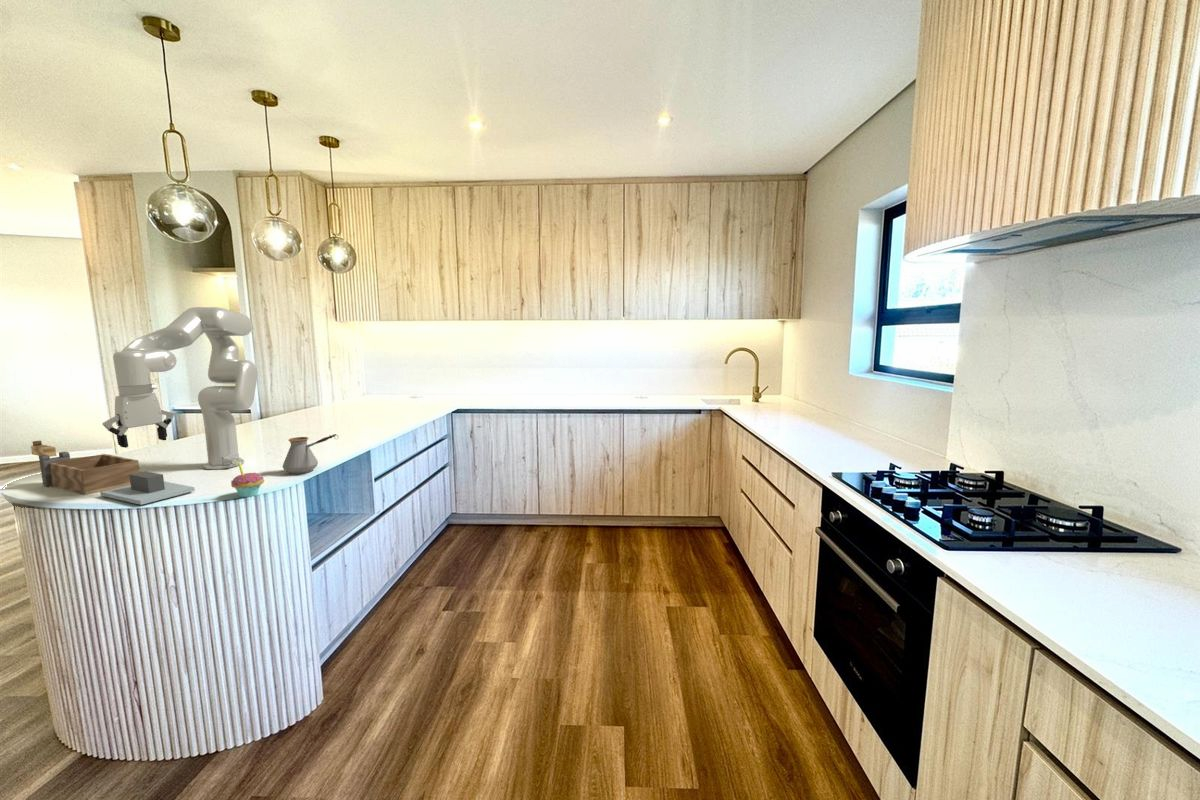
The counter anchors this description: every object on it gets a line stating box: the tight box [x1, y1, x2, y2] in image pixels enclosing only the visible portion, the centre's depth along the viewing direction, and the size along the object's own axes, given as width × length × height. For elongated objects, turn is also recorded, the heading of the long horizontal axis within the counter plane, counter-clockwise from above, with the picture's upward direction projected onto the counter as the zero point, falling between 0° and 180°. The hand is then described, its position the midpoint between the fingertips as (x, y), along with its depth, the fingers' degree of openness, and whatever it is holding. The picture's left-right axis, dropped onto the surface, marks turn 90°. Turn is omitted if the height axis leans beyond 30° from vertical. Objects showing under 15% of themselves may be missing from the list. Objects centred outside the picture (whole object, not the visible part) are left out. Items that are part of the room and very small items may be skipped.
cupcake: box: [230, 461, 265, 498], centre depth 152 cm, size 9×8×12 cm
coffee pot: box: [282, 433, 339, 475], centre depth 177 cm, size 21×12×15 cm, turn 85°
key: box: [30, 440, 57, 458], centre depth 163 cm, size 10×2×4 cm, turn 68°
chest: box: [38, 451, 141, 496], centre depth 161 cm, size 25×15×11 cm, turn 68°
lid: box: [99, 470, 196, 506], centre depth 151 cm, size 22×14×7 cm, turn 69°
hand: (144, 443), depth 150 cm, fingers open, 9 cm apart
